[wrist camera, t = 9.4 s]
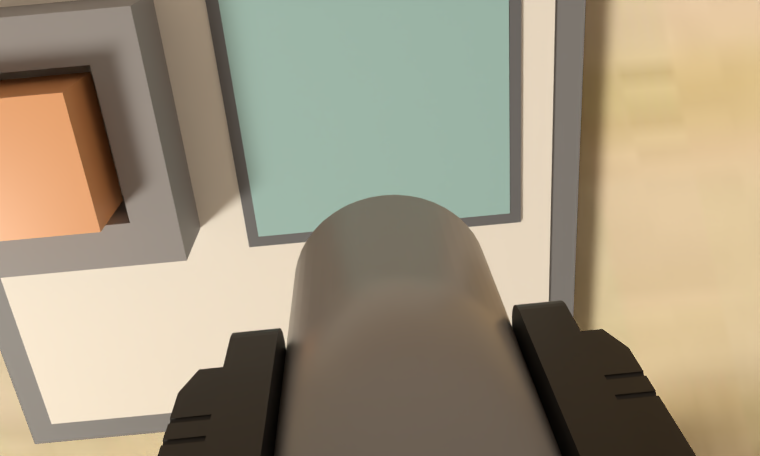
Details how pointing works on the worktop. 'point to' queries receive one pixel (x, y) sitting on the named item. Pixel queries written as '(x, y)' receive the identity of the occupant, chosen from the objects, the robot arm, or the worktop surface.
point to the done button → (54, 158)
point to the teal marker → (403, 343)
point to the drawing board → (275, 173)
